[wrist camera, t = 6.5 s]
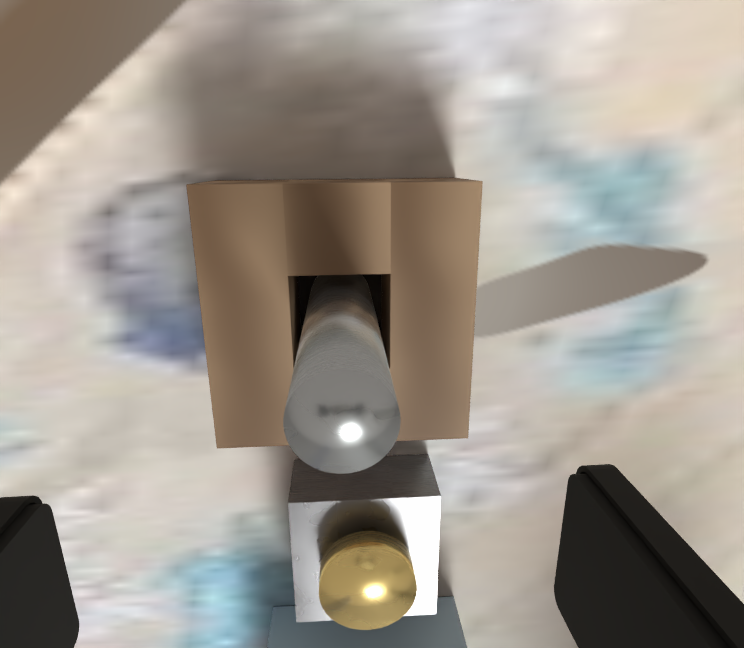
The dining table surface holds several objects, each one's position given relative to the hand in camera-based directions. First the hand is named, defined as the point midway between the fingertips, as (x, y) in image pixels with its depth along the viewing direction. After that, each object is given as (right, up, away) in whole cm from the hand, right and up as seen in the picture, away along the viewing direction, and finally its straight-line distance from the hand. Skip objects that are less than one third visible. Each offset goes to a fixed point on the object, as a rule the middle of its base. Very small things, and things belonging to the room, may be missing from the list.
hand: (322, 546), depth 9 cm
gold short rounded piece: (0, -8, +20) cm, 22 cm away
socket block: (-1, +6, +18) cm, 19 cm away
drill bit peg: (-1, +6, +18) cm, 19 cm away
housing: (0, -8, +22) cm, 23 cm away
